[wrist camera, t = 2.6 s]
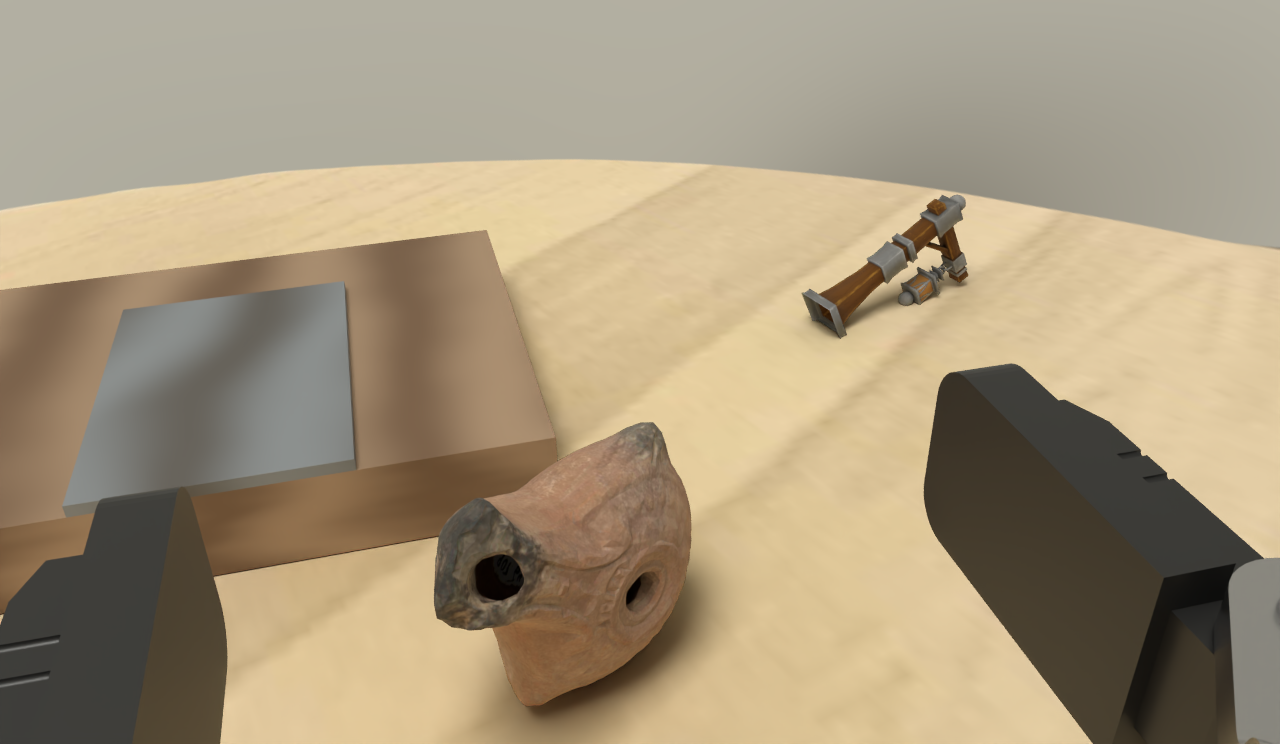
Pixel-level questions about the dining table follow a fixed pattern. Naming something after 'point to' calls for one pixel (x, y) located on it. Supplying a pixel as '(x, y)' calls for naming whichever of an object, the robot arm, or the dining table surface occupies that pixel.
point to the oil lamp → (571, 563)
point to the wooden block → (268, 401)
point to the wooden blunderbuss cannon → (897, 266)
